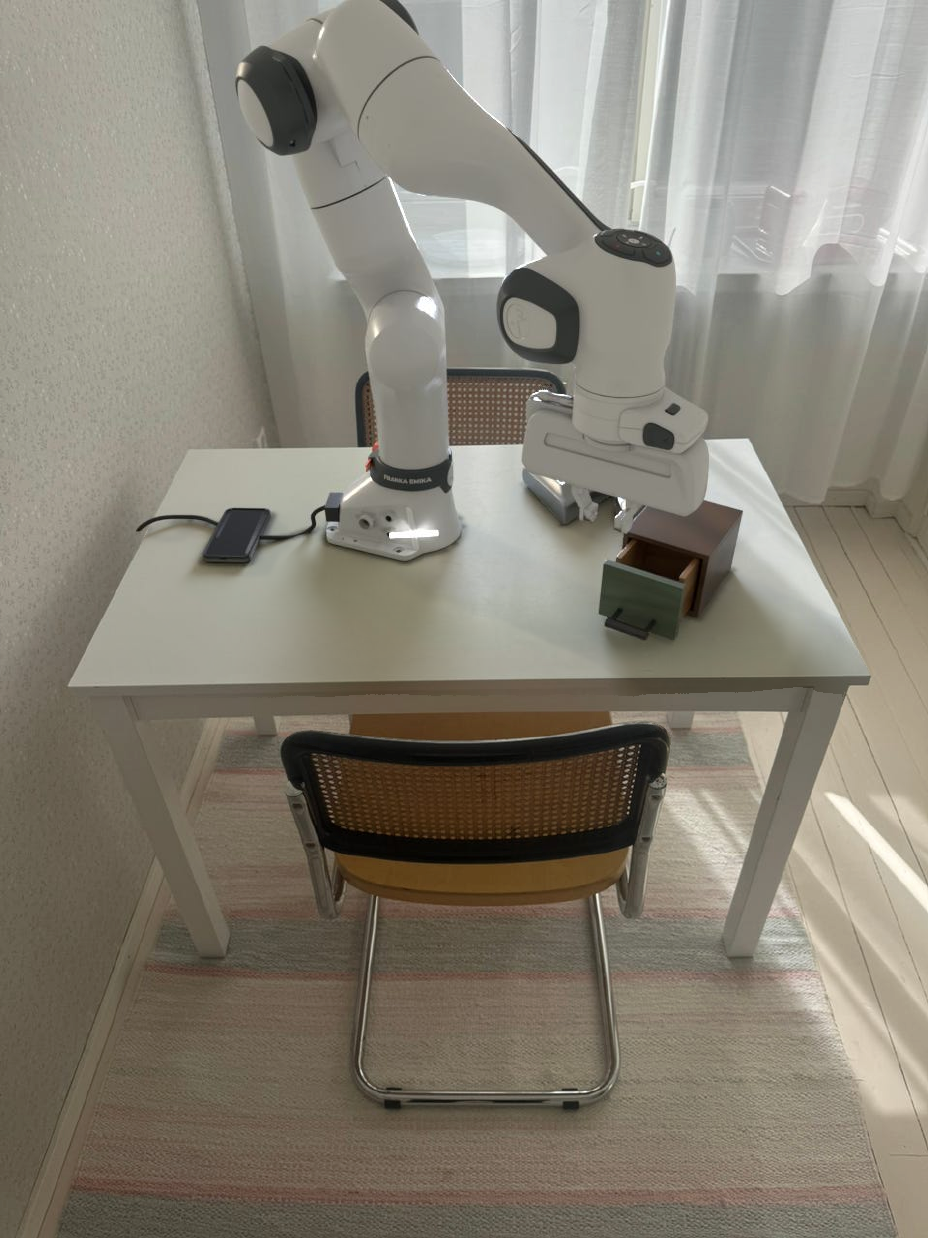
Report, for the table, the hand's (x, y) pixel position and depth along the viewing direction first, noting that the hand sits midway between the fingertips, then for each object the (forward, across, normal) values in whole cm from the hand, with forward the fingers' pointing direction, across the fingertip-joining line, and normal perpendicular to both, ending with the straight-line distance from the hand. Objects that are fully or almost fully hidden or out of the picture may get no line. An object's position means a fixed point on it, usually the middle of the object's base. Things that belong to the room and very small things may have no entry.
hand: (605, 524), depth 93 cm
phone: (+25, -66, +3) cm, 71 cm away
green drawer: (+24, 0, +18) cm, 30 cm away
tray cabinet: (+25, 0, +29) cm, 38 cm away
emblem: (+25, -22, +48) cm, 59 cm away
